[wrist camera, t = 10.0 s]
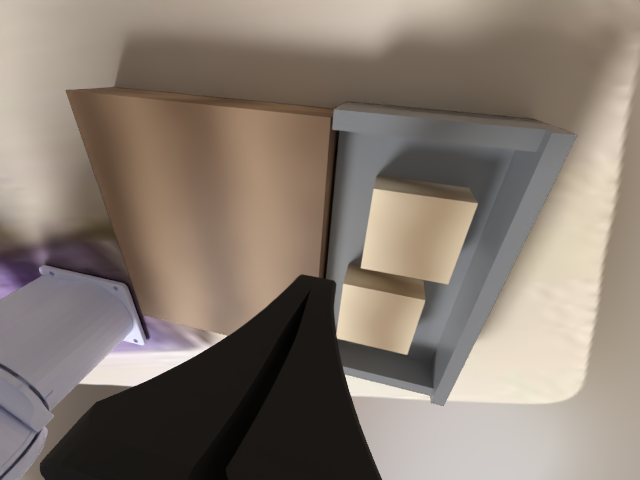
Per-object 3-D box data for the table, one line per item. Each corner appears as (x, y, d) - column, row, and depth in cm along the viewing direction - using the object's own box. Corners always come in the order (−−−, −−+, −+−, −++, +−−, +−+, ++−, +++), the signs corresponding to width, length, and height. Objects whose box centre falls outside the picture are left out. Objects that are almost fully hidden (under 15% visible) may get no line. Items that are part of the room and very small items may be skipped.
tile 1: (341, 316, 21) (335, 338, 19) (348, 264, 18) (343, 283, 17) (406, 330, 20) (407, 354, 18) (423, 278, 17) (425, 300, 16)
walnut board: (167, 290, 26) (142, 314, 23) (113, 87, 18) (65, 90, 15) (322, 325, 24) (312, 356, 21) (342, 109, 15) (330, 117, 13)
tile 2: (364, 248, 17) (360, 268, 16) (376, 175, 15) (373, 188, 13) (443, 262, 17) (448, 284, 15) (469, 187, 14) (478, 203, 13)
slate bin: (324, 329, 24) (311, 372, 20) (346, 101, 15) (331, 110, 12) (437, 355, 22) (443, 406, 19) (533, 118, 14) (576, 135, 10)
